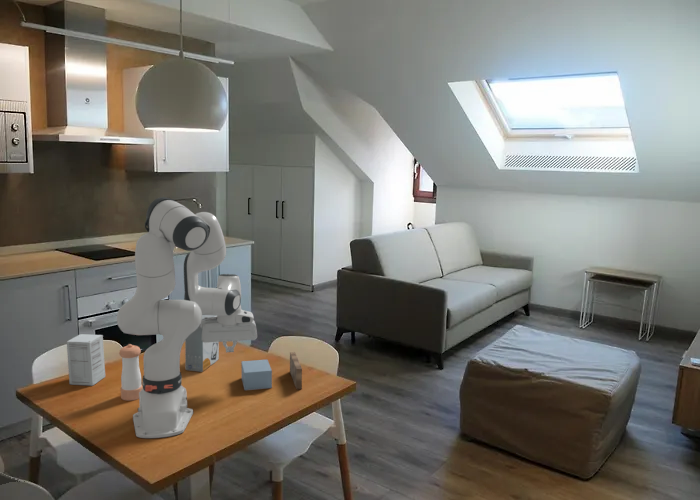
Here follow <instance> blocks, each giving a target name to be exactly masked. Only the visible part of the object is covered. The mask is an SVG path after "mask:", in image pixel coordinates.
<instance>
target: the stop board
mask: <svg viewBox="0 0 700 500" xmlns="http://www.w3.org/2000/svg"><path fill="white" fill-rule="evenodd" d="M289 373H290V375H291V378H292V381H293V385H294V386H295V387H294V388H295V389H296V390H302V388H303V381H302V380H303V368H302V365H301V363H300V360H299V359H298V356H297V354H296V352H295V351H293V352H289Z"/></svg>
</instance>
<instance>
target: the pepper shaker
mask: <svg viewBox="0 0 700 500" xmlns="http://www.w3.org/2000/svg"><path fill="white" fill-rule="evenodd" d="M141 352H142V350H141V348H140V346H138V345H134V344H131V343H128V344H127V345H126V346H122V347H121V348H120V350H119V356H120V357H121V363H122V370H121V377H120V381H121V387H120V398H121V400H123V401H136V400H138V399H139V392H140V391H141V390H142V389H143V384H142V374H141V370H140V362H139V361H140V359H139V356H140V355H141Z"/></svg>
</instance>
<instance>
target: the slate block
mask: <svg viewBox="0 0 700 500" xmlns="http://www.w3.org/2000/svg"><path fill="white" fill-rule="evenodd" d="M240 366H241V381H242V386H243V390H244V391H252V390H253V391H254V390H263V389H272V388H273V381H272V380H273V371H272V370H273V369H272V367H271V365H270V363H269V360H268V359H258V360H257V359H256V360H255V359H254V360H242V361H241V365H240Z"/></svg>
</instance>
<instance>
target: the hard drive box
mask: <svg viewBox="0 0 700 500" xmlns="http://www.w3.org/2000/svg"><path fill="white" fill-rule="evenodd" d="M205 317H209V318H210V317H217V315H216V316H215V315H202V319H204V318H205ZM184 343H185V347H184V348H185V352H184V354H185V362H184V363H185V370H186V371H192V372H199V373H200V372H204V371H206V370H207V369H209V367H211V366H212V365H214V364H215V363H216V362H218V361H219V359H220V358H219V354H220V352H219V350H220V349H219V348H220V345H219V343H220V342H207V343H204V342H203V341H202V328H201V326H200V325H199V327H198V328H197V329H196V330H195V331H194V332H192V333H191V334H190V335H189V336H188V337H187V338H186V340H185V341H184Z"/></svg>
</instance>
